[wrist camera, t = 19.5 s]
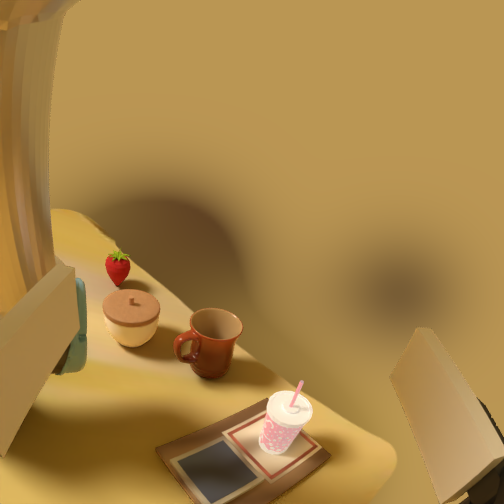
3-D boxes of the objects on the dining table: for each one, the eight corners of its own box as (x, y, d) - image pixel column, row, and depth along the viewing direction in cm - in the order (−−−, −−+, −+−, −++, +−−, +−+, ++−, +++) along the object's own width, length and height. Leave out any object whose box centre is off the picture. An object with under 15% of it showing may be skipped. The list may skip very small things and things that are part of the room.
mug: (215, 346, 62) (223, 303, 58) (242, 374, 56) (253, 331, 52) (160, 363, 54) (162, 317, 50) (185, 396, 48) (189, 352, 44)
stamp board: (155, 450, 37) (155, 444, 37) (266, 400, 51) (268, 393, 50) (219, 532, 28) (221, 528, 27) (329, 457, 41) (334, 451, 41)
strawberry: (124, 275, 78) (125, 239, 74) (133, 291, 73) (135, 252, 69) (102, 278, 74) (102, 241, 70) (110, 294, 69) (110, 255, 65)
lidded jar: (162, 326, 64) (165, 287, 60) (152, 360, 54) (154, 319, 50) (113, 316, 63) (113, 277, 59) (97, 348, 53) (93, 307, 49)
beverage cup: (256, 423, 45) (279, 360, 40) (294, 430, 45) (324, 369, 39) (250, 454, 39) (275, 394, 34) (292, 461, 39) (326, 404, 34)
